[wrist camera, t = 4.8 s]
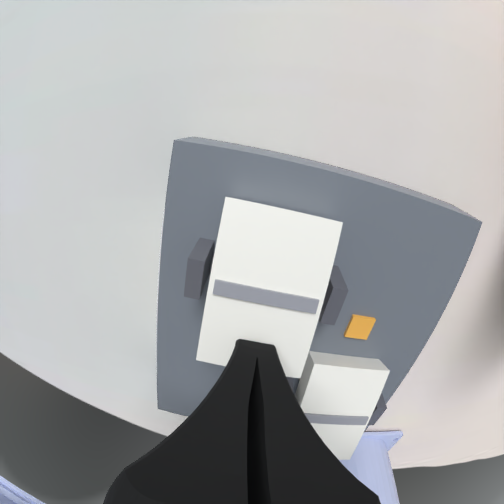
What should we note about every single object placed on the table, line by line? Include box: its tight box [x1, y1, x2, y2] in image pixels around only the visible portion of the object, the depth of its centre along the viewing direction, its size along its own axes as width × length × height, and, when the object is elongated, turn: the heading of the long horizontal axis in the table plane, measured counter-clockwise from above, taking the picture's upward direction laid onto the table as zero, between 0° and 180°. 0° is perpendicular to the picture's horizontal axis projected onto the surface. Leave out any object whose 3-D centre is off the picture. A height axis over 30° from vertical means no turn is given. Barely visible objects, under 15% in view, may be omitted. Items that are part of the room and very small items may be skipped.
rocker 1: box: [196, 197, 343, 378], centre depth 11 cm, size 6×4×2 cm, turn 169°
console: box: [156, 137, 482, 430], centre depth 15 cm, size 16×14×5 cm
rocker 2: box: [295, 351, 390, 460], centre depth 14 cm, size 6×4×2 cm, turn 169°
